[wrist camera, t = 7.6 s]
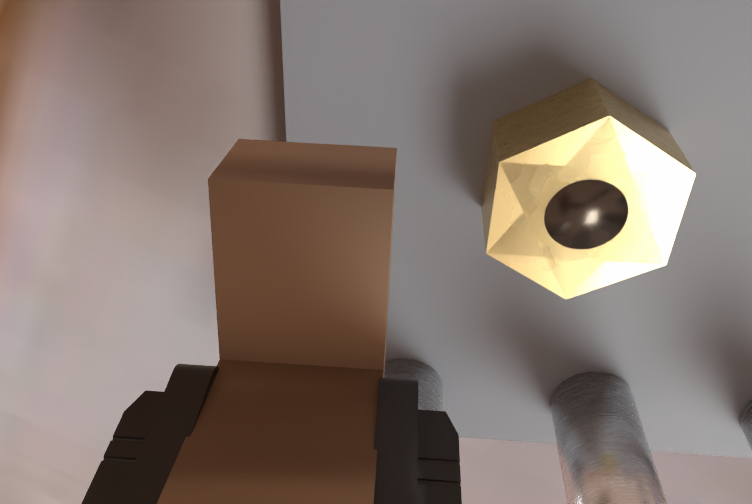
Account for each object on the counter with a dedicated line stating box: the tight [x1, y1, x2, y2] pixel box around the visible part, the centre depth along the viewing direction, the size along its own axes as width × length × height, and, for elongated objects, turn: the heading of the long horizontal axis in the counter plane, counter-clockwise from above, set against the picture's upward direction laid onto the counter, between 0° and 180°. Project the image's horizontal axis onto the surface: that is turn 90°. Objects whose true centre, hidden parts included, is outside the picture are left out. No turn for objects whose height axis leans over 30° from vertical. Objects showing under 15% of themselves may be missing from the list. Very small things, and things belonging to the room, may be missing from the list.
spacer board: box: [280, 0, 752, 458], centre depth 22 cm, size 24×24×1 cm
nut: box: [481, 78, 696, 299], centre depth 20 cm, size 6×5×2 cm
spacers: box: [384, 358, 752, 504], centre depth 18 cm, size 22×17×7 cm
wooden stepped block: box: [157, 139, 397, 504], centre depth 12 cm, size 10×3×8 cm, turn 178°
